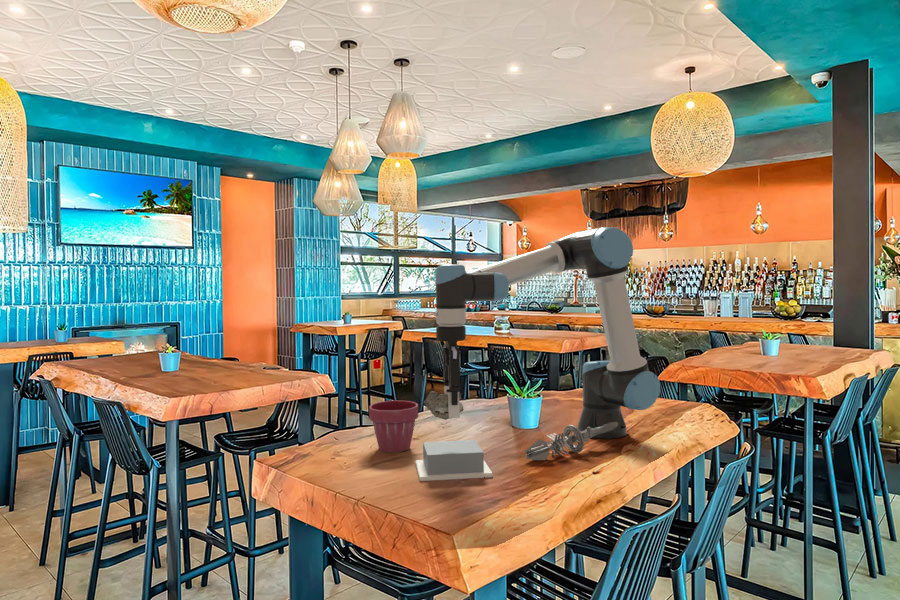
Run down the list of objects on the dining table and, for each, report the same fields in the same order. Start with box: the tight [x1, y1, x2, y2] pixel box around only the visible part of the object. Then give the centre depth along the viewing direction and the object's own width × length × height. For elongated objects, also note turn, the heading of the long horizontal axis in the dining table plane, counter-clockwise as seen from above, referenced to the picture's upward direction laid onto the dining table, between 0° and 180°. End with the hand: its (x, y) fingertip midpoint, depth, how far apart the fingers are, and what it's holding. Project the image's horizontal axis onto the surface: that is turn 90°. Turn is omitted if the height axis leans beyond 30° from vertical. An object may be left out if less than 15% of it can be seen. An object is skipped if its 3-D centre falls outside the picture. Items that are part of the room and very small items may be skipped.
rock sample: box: [423, 390, 464, 421], centre depth 150 cm, size 11×8×9 cm
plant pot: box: [368, 399, 419, 453], centre depth 172 cm, size 14×14×13 cm
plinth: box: [415, 439, 494, 482], centre depth 151 cm, size 18×14×6 cm
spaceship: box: [524, 422, 618, 461], centre depth 165 cm, size 8×35×8 cm
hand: (451, 413), depth 151 cm, fingers closed on rock sample, 8 cm apart
